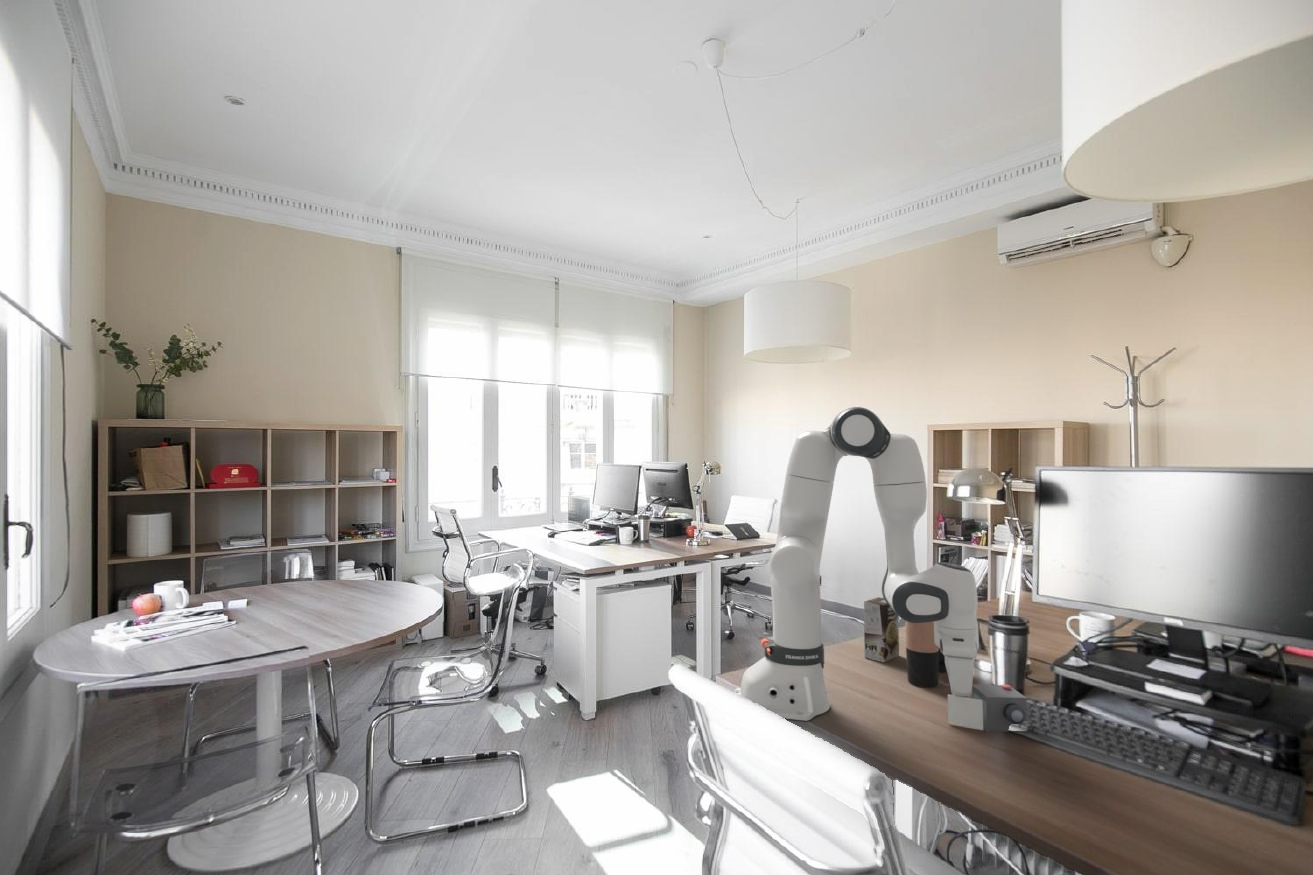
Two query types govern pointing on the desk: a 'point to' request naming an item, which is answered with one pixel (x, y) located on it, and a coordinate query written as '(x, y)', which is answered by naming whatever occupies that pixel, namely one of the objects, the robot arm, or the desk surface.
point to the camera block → (1001, 705)
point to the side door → (967, 712)
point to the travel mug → (922, 655)
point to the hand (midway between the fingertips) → (957, 701)
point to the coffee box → (880, 630)
